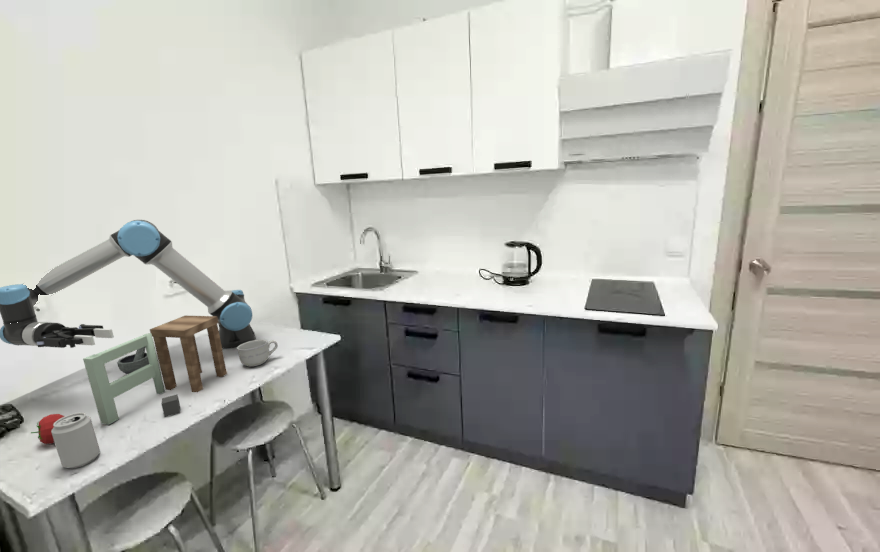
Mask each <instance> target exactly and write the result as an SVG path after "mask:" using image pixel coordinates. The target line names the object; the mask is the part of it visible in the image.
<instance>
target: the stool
mask: <svg viewBox="0 0 880 552" xmlns="http://www.w3.org/2000/svg"><path fill="white" fill-rule="evenodd" d="M204 330H206V331H207V336H208V341H209V346H210V351H211V355H212V360H213V367H214V371H215V375H216V378H223V377H225V376H226V375H228V371H227V366H226V362H225V356H224V350H223V348H222V346H221V340H220V335H219V325H218V318H217V316H212V315H210V316H209V315H183V316H180V317H178V318H174V319H173V320H170V321H167V322H165V323H162V324H160V325H157V326H155V327H152V328H150V329H149V332H150V333H151V334H152V338H153V342H154V346H155V350H156V355H157V359H158V363H159V367H160V372H161V376H162V380H163V384H164V388H165V391H172V390H174V389H176V388H177V387H178V386H177V385H178V384H177V381H176V377H175V370H174V367H173V363H172V360H171V353H170V350H169V345H168V341H167V338H173V339H174V338H177V339H178V338H179V341H180V344H181V345H180V346H181V349H182V353H183V359H184V364H185V368H186V372H187V377H188V381H189V382H188V383H189V385H190V391H191V392H192V393H200V392H201V391H203V390H204V386H203V380H202V377H201V374H202V373H203V370H202V366H201V361H200V356H199V351H198V345H197V342H196V336H195V334H198V333H200V332H202V331H204ZM224 375H225V376H224Z"/></svg>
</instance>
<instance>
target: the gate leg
mask: <svg viewBox="0 0 880 552" xmlns="http://www.w3.org/2000/svg"><path fill="white" fill-rule="evenodd" d="M144 346H145V353H147V356H148V360H149V364H148V365H146V366H144V367H142V368H140V369H138V370H136V371H134V372H132V373H130V374H128V375H127V374H126V375H124V376H122V377H120V378H117V379H115V380H113V381H112V382H110V380H109V376H108V373H107V369H106V364H107V363H110V362H111V361H114V360H116V359H119V358H121V357H125V356H127V355H128V354H131V353H133V352H134V351H135V352H136V351H137V350H138V349H140V348H142V347H144ZM82 360H83V363H84V367H85V371H86V375H87V378H88V382H89V385H90V389H91V392H92V395H93V400H94V403H95V407H96V409H97V414H98V417H99V420H100V424H103V425H111V424H112V423H115V422H116V421H118V420H119V419H120V417H119V413H118V410H117V406H116V402H115V399H116V397H119V396H120V395H122V394H124V393H126V392H128V391H130V390H132V389H134V388H135V387H138V386H140V385H142V384H144V383H145V382H147V381H149V380H151V379H153V380H152V381H153V385H154V388H155V392H156V395H161V394H164V393H166V390H165V386H164V382H163V377H162V373H161V369H160V365H159V360H158V356H157V352H156V348H155V343H154V339H153V337H152V334H151V333H145V334H142V335H140V336H138V337H136V338H133V339H130V340H128V341H125V342H123V343H120V344H118V345H115V346H113V347H110V348H108V349H105V350H102V351H101V352H98V353H96V354H91V355H89V356H86V357H84V358H83V359H82ZM114 398H115V399H114Z"/></svg>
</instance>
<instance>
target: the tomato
mask: <svg viewBox="0 0 880 552" xmlns="http://www.w3.org/2000/svg"><path fill="white" fill-rule="evenodd" d="M65 416H66V415H63V414H60V413H51V414H49V415H46V416H43V417H42V418H41V419H40V420H39V421H37V423H36V428H38V429H37V430H38V431H31V432H30V434H38V436H37V438H38V440H39V442H40V443H42V444H43V445H51V444H52V445H53V444H55V442H54V439H53V436H52V432H51V431H52V429H53V428H54V426H53V424H54V423H55V422H56V421H57V420H59V419H60V418H62V417H65Z"/></svg>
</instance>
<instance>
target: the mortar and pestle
mask: <svg viewBox="0 0 880 552" xmlns="http://www.w3.org/2000/svg"><path fill="white" fill-rule="evenodd" d="M116 364H117V367H118V369H119V371H120V372H122V373H123V374H126V375H128V374H130V373H132V372H134V371H136V370H138V369H140V368H142V367H144V366H146V365H148V364H149V360H148V356H147V352H146V348H145V346H144V347H142V348H140V349H138V350H135V353H134V354H130V355H125V356H123V357H122V358H120V359H119V358H118V360H117V362H116ZM149 365H150V364H149Z"/></svg>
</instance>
